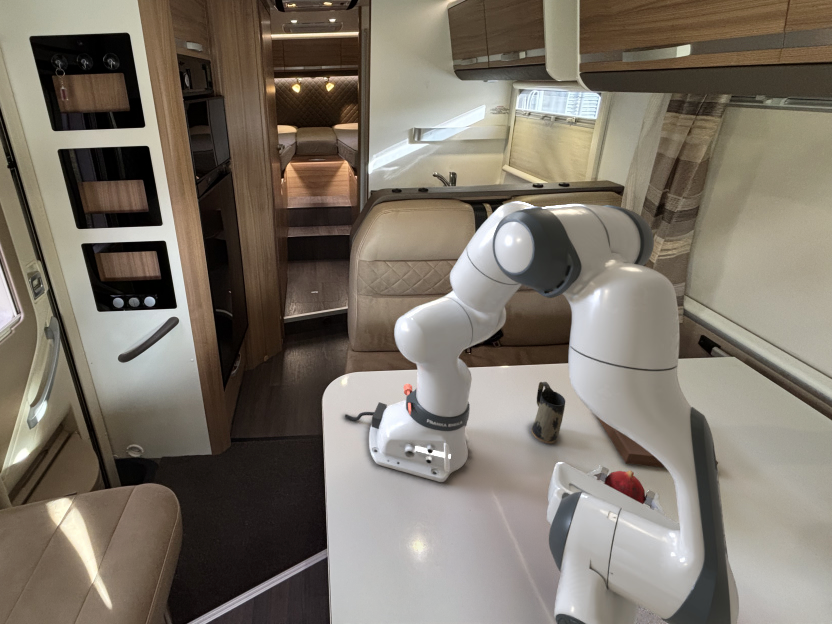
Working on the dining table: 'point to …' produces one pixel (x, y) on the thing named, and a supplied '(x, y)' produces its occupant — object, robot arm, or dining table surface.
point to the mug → (548, 414)
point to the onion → (626, 484)
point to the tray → (631, 449)
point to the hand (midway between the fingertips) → (626, 481)
